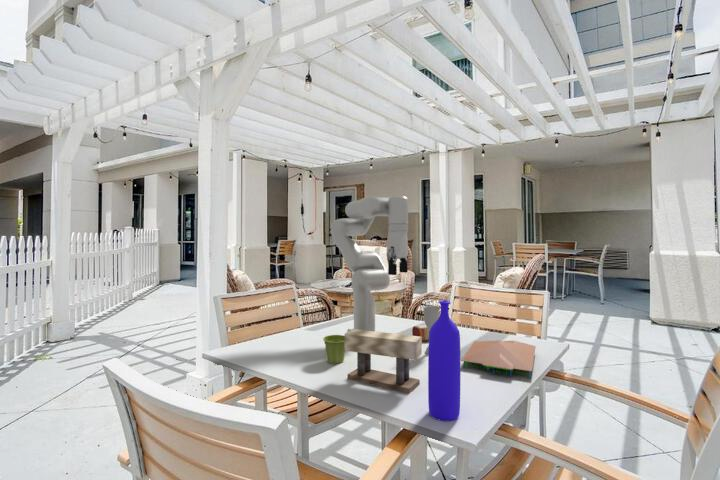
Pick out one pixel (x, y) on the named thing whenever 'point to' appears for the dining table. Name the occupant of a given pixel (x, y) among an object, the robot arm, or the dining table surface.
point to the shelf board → (384, 344)
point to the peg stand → (384, 375)
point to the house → (501, 355)
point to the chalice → (430, 317)
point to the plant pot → (335, 348)
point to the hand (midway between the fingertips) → (398, 273)
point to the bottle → (444, 367)
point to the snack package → (421, 332)
